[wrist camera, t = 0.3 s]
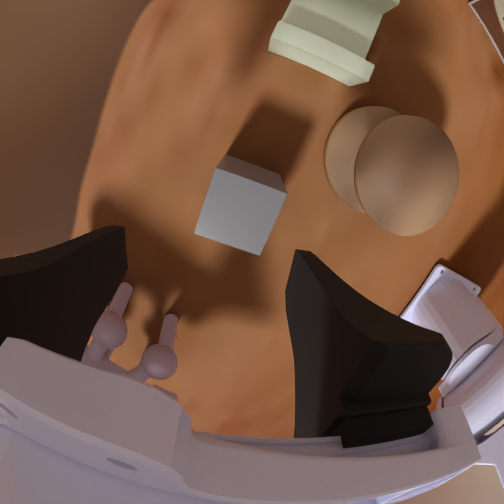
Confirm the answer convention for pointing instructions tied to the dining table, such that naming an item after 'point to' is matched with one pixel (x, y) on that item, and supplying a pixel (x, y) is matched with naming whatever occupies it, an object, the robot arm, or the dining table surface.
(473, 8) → the food container
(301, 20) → the pale green flanged block
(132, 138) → the dining table surface
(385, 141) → the tan rounded lump
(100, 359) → the toy sheep
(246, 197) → the gray metal block
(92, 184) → the dining table surface
